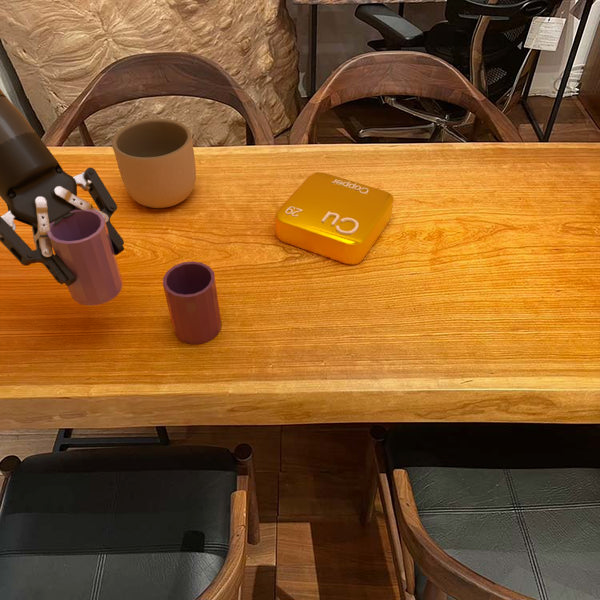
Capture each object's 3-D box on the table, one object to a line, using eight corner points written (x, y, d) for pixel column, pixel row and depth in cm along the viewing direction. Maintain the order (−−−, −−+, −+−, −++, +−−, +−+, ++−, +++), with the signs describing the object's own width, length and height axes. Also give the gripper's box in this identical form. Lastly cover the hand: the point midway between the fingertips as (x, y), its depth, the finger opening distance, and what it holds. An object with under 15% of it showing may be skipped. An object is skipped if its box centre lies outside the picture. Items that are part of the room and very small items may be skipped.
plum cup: (185, 351, 77) (175, 303, 70) (166, 320, 80) (155, 273, 74) (229, 332, 79) (223, 284, 73) (208, 303, 83) (201, 255, 76)
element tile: (394, 215, 97) (398, 191, 94) (357, 269, 88) (359, 244, 84) (314, 190, 102) (314, 166, 98) (270, 238, 93) (269, 214, 89)
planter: (149, 168, 107) (137, 112, 99) (211, 181, 104) (204, 125, 96) (112, 207, 98) (96, 150, 91) (178, 222, 95) (167, 165, 88)
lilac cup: (79, 313, 71) (55, 250, 64) (64, 282, 75) (40, 219, 68) (130, 293, 74) (112, 231, 66) (112, 264, 77) (94, 202, 70)
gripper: (-51, 163, 60) (53, 294, 63) (66, 110, 68) (153, 229, 71) (-56, 188, 66) (39, 307, 69) (52, 136, 74) (132, 245, 77)
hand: (96, 267), depth 70 cm, fingers closed on lilac cup, 6 cm apart
